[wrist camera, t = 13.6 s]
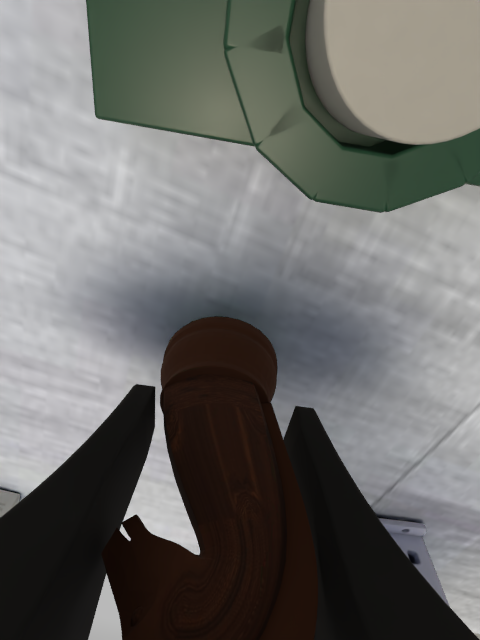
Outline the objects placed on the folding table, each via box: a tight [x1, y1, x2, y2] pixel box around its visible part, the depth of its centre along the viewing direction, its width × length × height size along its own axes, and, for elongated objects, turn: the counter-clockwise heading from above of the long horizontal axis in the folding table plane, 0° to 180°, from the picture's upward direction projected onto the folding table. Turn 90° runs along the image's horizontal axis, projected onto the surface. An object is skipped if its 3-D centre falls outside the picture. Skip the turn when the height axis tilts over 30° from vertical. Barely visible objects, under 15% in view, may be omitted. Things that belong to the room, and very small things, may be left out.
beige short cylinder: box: [305, 0, 480, 145], centre depth 5 cm, size 4×4×2 cm
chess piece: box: [101, 316, 318, 640], centre depth 9 cm, size 5×5×10 cm
